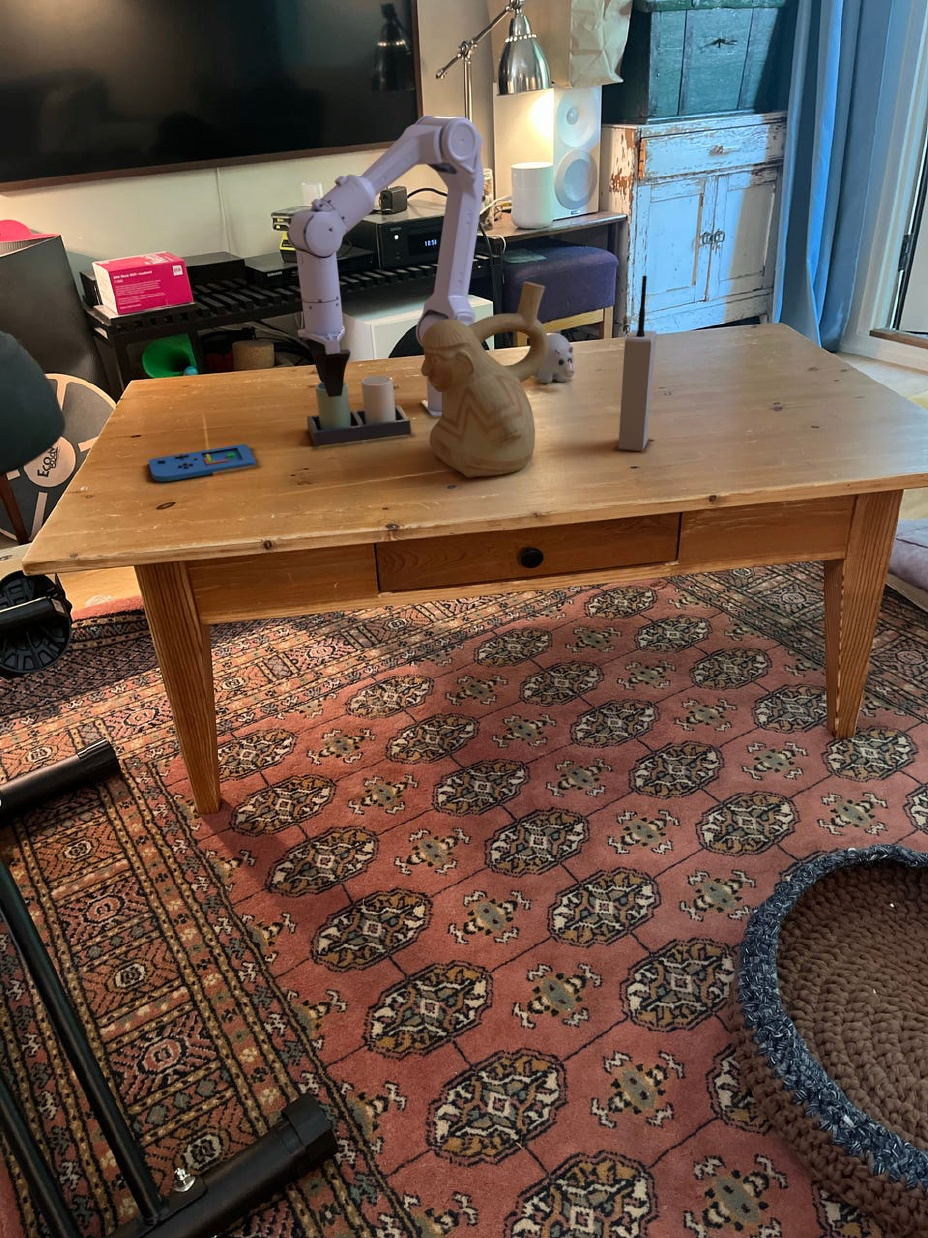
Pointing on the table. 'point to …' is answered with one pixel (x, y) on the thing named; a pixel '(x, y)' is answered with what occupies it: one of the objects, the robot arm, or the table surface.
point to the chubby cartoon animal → (557, 360)
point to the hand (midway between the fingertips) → (331, 388)
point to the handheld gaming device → (200, 463)
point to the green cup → (333, 408)
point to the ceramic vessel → (484, 390)
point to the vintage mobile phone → (637, 383)
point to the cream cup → (378, 399)
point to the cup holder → (358, 429)
